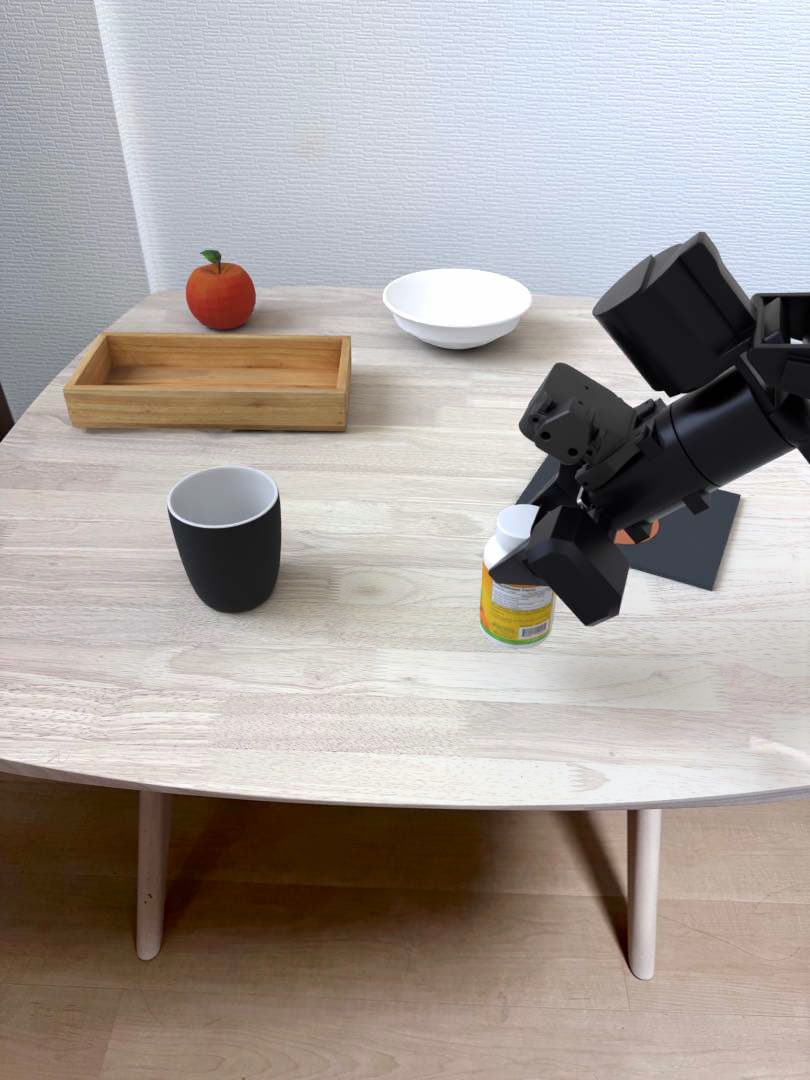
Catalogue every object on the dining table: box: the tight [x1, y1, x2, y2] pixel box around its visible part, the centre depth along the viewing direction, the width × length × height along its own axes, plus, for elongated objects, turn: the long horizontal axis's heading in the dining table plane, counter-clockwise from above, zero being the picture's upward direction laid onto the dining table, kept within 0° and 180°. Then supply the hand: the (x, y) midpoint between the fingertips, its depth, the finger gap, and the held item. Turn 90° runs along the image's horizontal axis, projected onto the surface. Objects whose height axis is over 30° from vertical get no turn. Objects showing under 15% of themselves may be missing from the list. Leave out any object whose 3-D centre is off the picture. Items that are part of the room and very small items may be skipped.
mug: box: [166, 464, 282, 614], centre depth 72 cm, size 12×9×10 cm
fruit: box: [185, 249, 257, 331], centre depth 116 cm, size 10×10×10 cm
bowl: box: [382, 267, 533, 350], centre depth 114 cm, size 20×20×6 cm
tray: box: [62, 331, 352, 432], centre depth 100 cm, size 31×15×6 cm, turn 91°
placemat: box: [514, 454, 742, 592], centre depth 84 cm, size 20×16×1 cm
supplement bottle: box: [478, 504, 558, 650], centre depth 60 cm, size 5×5×10 cm
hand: (503, 552), depth 59 cm, fingers closed on supplement bottle, 5 cm apart
